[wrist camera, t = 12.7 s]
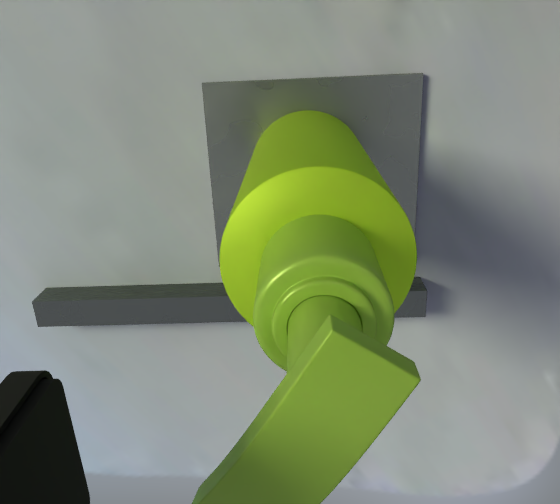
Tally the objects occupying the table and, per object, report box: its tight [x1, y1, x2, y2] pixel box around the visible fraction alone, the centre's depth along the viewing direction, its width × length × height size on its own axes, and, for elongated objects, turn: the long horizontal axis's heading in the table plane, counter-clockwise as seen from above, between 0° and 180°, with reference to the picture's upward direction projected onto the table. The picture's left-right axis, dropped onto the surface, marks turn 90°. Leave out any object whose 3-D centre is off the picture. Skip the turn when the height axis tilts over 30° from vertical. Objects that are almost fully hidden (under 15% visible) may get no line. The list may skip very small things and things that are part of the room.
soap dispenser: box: [192, 110, 421, 504], centre depth 19 cm, size 6×7×20 cm
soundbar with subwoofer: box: [32, 73, 427, 327], centre depth 28 cm, size 22×13×2 cm, turn 92°
